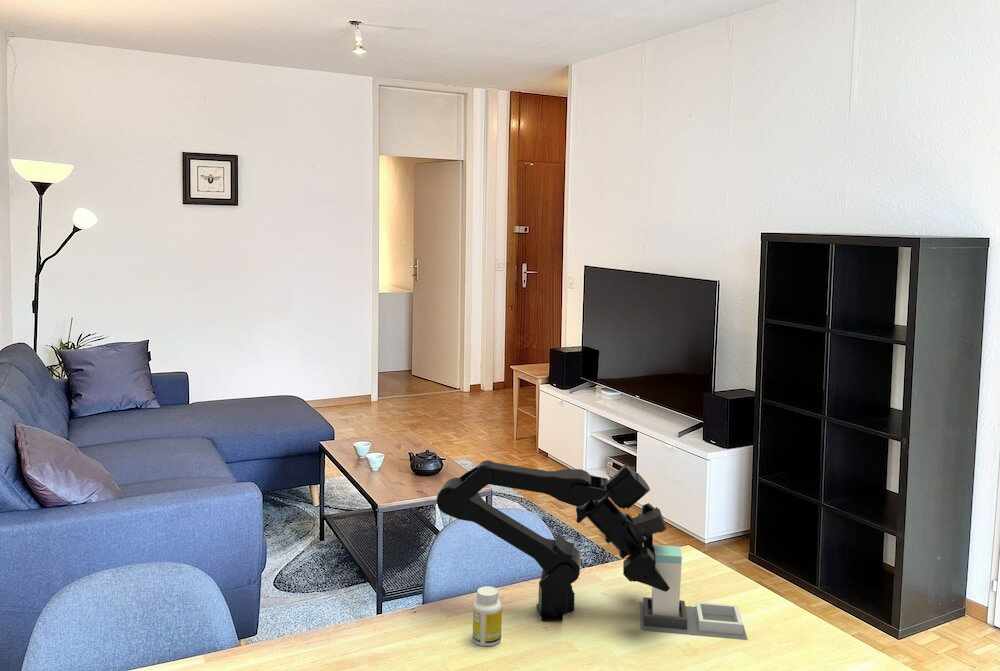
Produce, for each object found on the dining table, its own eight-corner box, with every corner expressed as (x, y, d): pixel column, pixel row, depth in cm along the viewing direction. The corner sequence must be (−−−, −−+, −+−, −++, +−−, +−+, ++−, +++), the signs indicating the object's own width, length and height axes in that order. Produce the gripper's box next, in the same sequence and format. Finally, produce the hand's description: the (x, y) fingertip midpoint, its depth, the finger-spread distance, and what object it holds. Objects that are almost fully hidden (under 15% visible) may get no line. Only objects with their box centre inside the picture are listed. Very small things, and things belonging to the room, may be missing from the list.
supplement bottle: (505, 635, 157) (506, 587, 156) (495, 649, 152) (496, 599, 151) (478, 630, 159) (479, 582, 158) (468, 644, 154) (469, 594, 152)
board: (640, 635, 158) (641, 620, 158) (639, 606, 170) (639, 592, 170) (747, 644, 156) (748, 629, 155) (738, 615, 167) (739, 601, 167)
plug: (652, 622, 161) (655, 554, 159) (651, 610, 166) (654, 544, 164) (678, 624, 161) (681, 556, 159) (676, 612, 166) (679, 546, 164)
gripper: (644, 513, 152) (702, 574, 152) (640, 481, 170) (692, 536, 170) (599, 551, 154) (657, 611, 154) (601, 516, 172) (652, 569, 172)
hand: (666, 579), depth 162 cm, fingers open, 9 cm apart
